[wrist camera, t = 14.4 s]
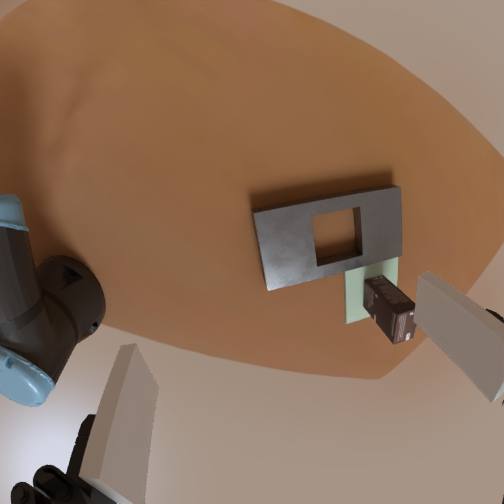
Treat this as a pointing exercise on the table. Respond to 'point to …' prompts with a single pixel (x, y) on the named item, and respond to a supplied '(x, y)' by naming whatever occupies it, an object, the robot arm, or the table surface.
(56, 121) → the table surface
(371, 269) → the pad
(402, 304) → the box
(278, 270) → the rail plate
